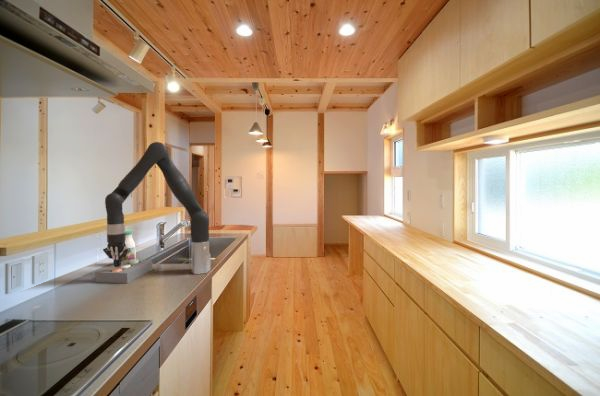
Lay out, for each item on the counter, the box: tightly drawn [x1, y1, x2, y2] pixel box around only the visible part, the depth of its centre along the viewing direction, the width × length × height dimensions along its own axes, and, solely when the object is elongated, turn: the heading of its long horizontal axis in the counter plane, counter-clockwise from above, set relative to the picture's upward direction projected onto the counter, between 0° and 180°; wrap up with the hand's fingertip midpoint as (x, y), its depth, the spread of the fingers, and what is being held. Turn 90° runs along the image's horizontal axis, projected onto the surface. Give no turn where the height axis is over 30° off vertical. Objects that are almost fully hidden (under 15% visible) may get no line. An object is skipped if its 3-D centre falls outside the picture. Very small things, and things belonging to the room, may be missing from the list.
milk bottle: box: [121, 230, 137, 262], centre depth 160 cm, size 8×8×20 cm
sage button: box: [129, 258, 139, 264], centre depth 149 cm, size 4×4×4 cm
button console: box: [94, 259, 154, 284], centre depth 142 cm, size 16×21×5 cm
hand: (117, 266), depth 135 cm, fingers closed
